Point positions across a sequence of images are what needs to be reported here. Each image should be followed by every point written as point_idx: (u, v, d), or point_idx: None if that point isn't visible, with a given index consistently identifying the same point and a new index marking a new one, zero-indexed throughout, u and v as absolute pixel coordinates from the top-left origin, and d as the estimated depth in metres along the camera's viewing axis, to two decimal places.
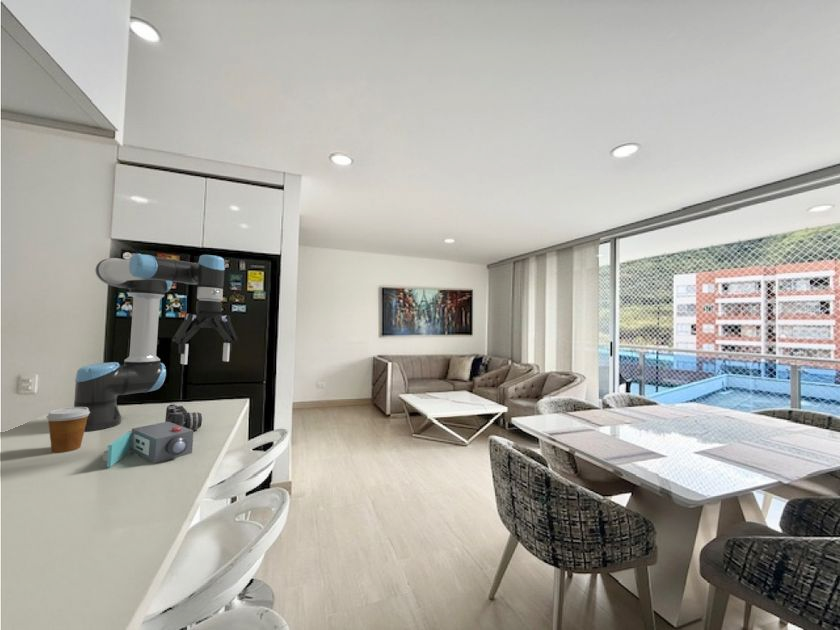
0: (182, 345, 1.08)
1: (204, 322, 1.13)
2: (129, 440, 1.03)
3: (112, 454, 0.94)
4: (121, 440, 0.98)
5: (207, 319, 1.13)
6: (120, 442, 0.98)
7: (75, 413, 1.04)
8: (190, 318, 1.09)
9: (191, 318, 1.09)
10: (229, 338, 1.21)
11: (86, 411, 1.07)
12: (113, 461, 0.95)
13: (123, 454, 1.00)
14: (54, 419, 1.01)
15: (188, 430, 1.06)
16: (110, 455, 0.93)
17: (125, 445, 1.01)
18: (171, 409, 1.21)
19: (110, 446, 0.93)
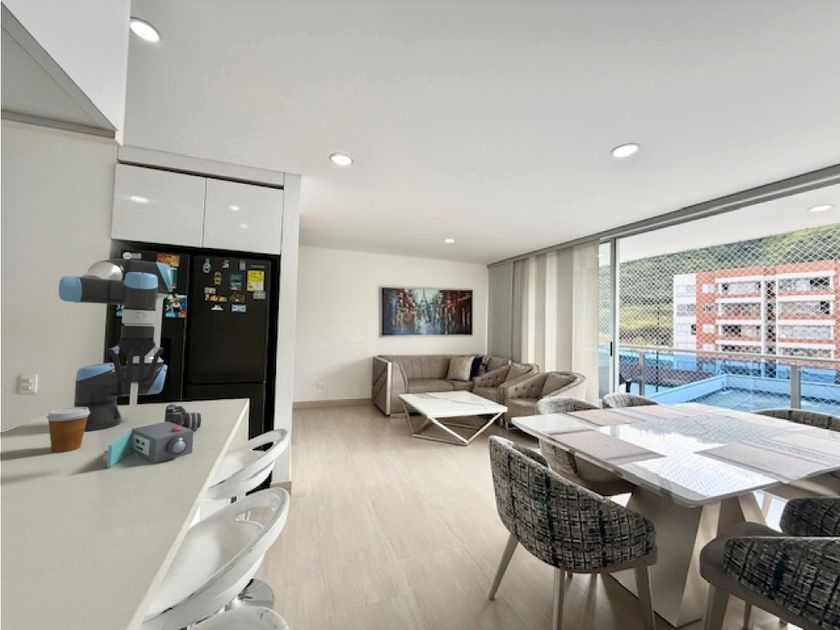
0: (127, 385, 0.97)
1: (131, 352, 0.97)
2: (129, 440, 1.03)
3: (112, 454, 0.94)
4: (121, 440, 0.98)
5: (131, 347, 0.97)
6: (120, 442, 0.98)
7: (75, 413, 1.04)
8: (112, 353, 0.95)
9: (113, 353, 0.95)
10: (141, 376, 0.99)
11: (86, 411, 1.07)
12: (113, 461, 0.95)
13: (123, 454, 1.00)
14: (54, 419, 1.01)
15: (188, 430, 1.06)
16: (110, 455, 0.93)
17: (125, 445, 1.01)
18: (170, 409, 1.21)
19: (110, 446, 0.93)
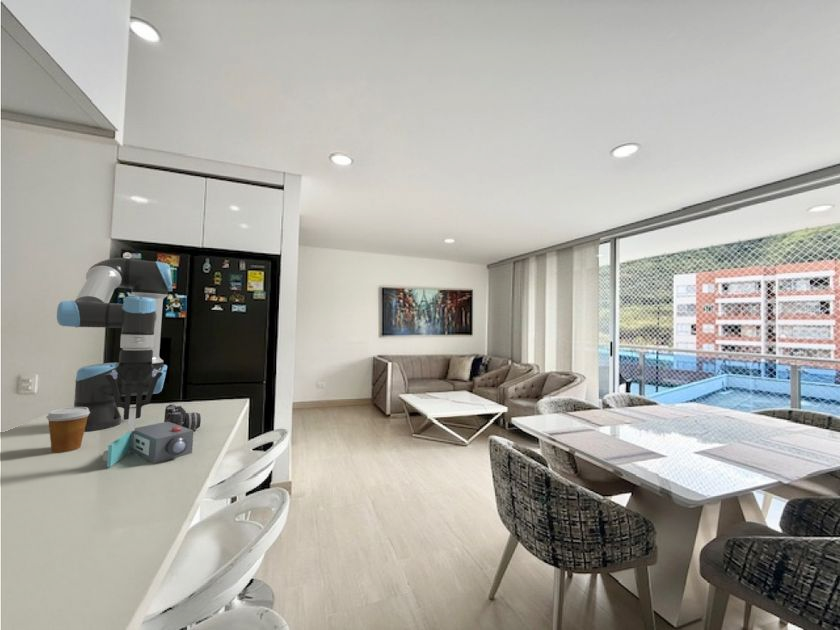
0: (126, 410, 0.97)
1: (129, 376, 0.97)
2: (129, 440, 1.03)
3: (112, 454, 0.94)
4: (121, 440, 0.98)
5: (129, 372, 0.96)
6: (120, 442, 0.98)
7: (75, 413, 1.04)
8: (111, 379, 0.94)
9: (112, 378, 0.94)
10: (139, 401, 0.98)
11: (86, 411, 1.07)
12: (113, 461, 0.95)
13: (123, 454, 1.00)
14: (54, 419, 1.01)
15: (188, 430, 1.06)
16: (110, 455, 0.93)
17: (125, 445, 1.01)
18: (170, 409, 1.21)
19: (110, 446, 0.93)
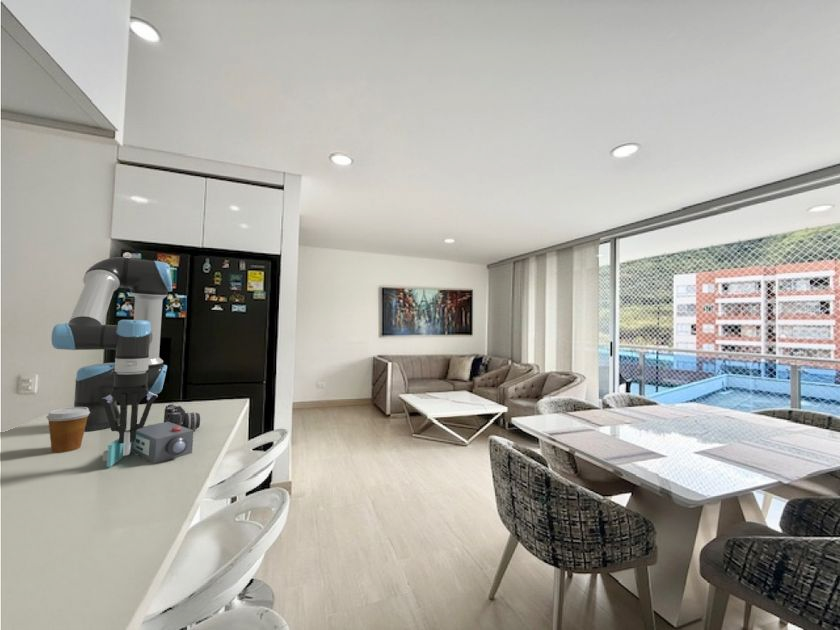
0: (121, 433, 0.97)
1: (123, 400, 0.96)
2: None
3: (112, 454, 0.94)
4: None
5: (123, 396, 0.96)
6: None
7: (75, 413, 1.04)
8: (105, 403, 0.94)
9: (106, 402, 0.94)
10: (133, 424, 0.98)
11: (86, 411, 1.07)
12: (113, 461, 0.95)
13: None
14: (54, 419, 1.01)
15: (188, 430, 1.06)
16: (110, 455, 0.93)
17: None
18: (169, 409, 1.21)
19: (110, 446, 0.93)
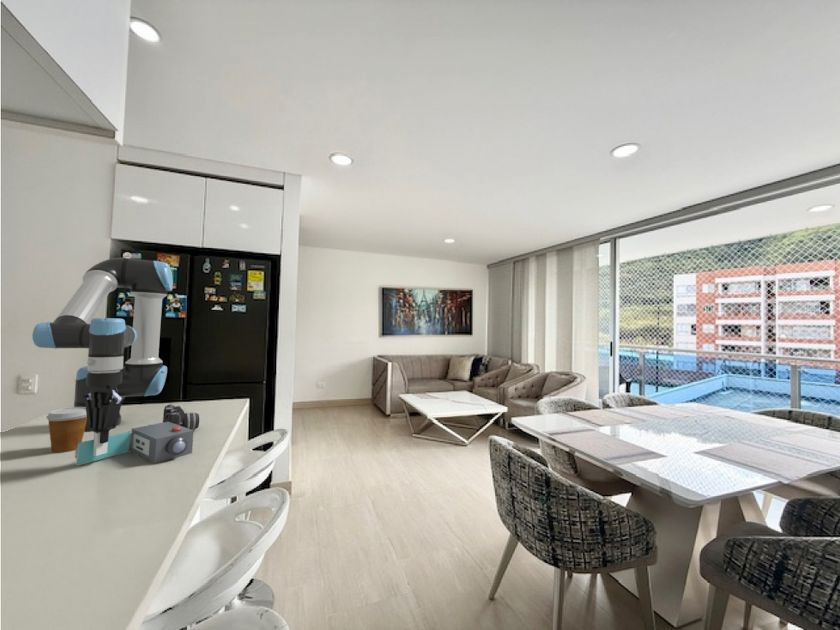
0: (95, 432, 0.96)
1: (93, 399, 0.95)
2: (125, 440, 1.03)
3: (81, 453, 0.94)
4: None
5: (92, 394, 0.95)
6: None
7: (75, 413, 1.04)
8: (85, 399, 0.97)
9: (86, 399, 0.97)
10: (100, 425, 0.95)
11: None
12: (85, 460, 0.94)
13: (111, 454, 1.00)
14: (54, 419, 1.01)
15: (188, 430, 1.06)
16: (78, 453, 0.93)
17: (115, 444, 1.01)
18: (168, 409, 1.21)
19: (78, 445, 0.93)
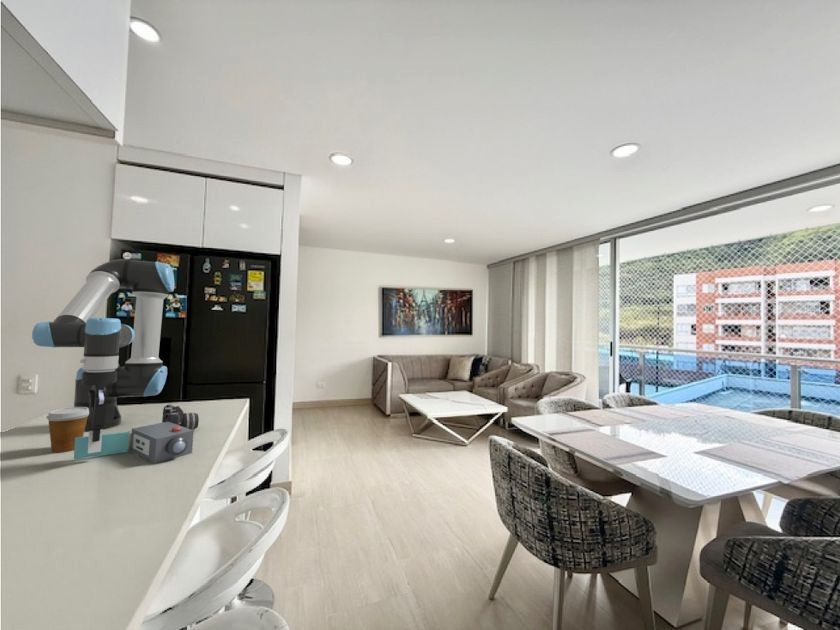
0: None
1: (89, 397, 0.98)
2: (124, 440, 1.03)
3: (77, 447, 0.97)
4: None
5: (88, 392, 0.98)
6: None
7: (75, 413, 1.04)
8: None
9: None
10: (91, 424, 0.96)
11: (86, 411, 1.07)
12: (81, 455, 0.98)
13: (108, 452, 1.01)
14: (54, 419, 1.01)
15: (188, 430, 1.06)
16: None
17: (112, 443, 1.02)
18: (167, 409, 1.21)
19: (75, 439, 0.97)
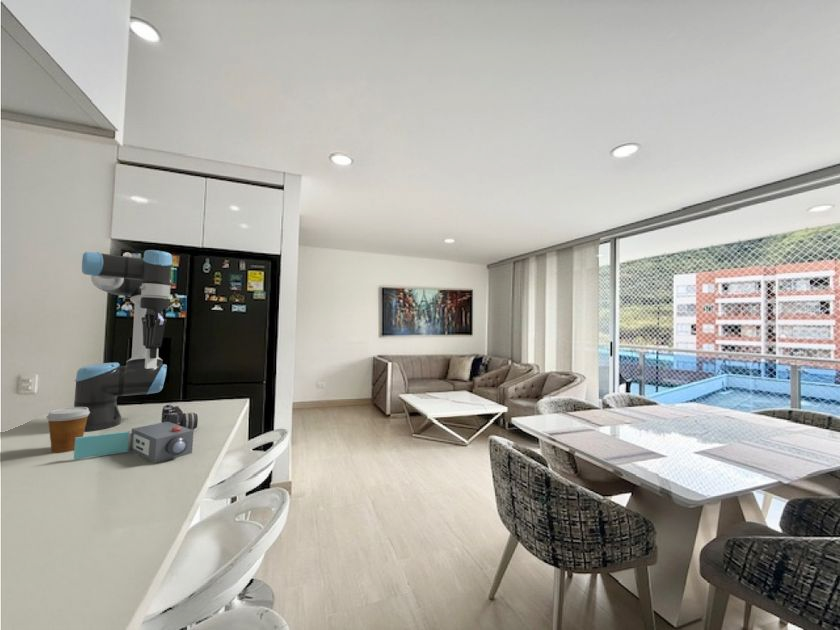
0: None
1: (146, 320, 1.11)
2: (124, 440, 1.03)
3: (77, 447, 0.97)
4: (101, 437, 1.00)
5: (145, 316, 1.11)
6: (98, 438, 1.00)
7: (75, 413, 1.03)
8: (142, 321, 1.14)
9: (143, 320, 1.14)
10: (149, 343, 1.10)
11: (86, 411, 1.07)
12: (81, 455, 0.98)
13: (108, 452, 1.01)
14: (54, 419, 1.01)
15: (188, 430, 1.06)
16: None
17: (112, 443, 1.02)
18: (166, 409, 1.20)
19: (75, 439, 0.97)
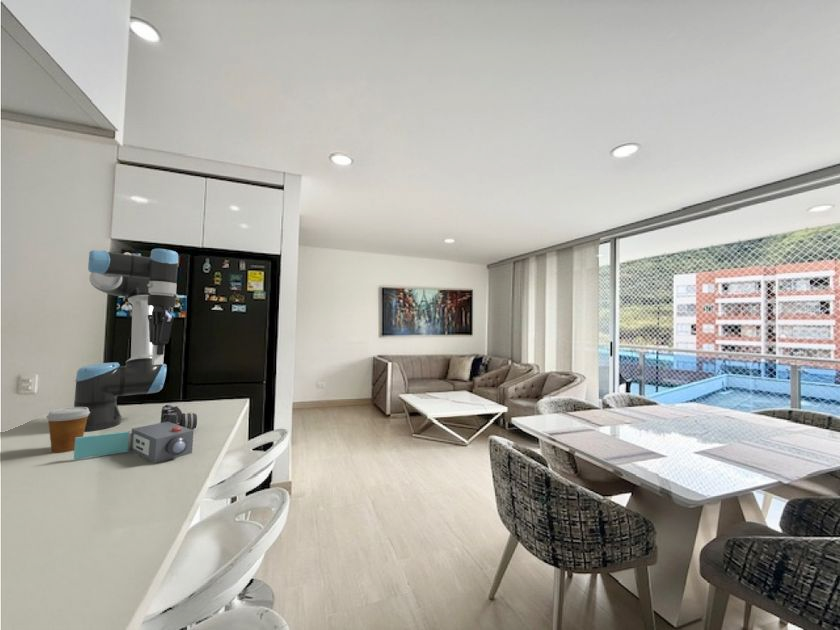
0: None
1: (152, 317, 1.13)
2: (124, 440, 1.03)
3: (77, 447, 0.97)
4: (101, 437, 1.00)
5: (152, 313, 1.13)
6: (98, 438, 1.00)
7: (75, 413, 1.04)
8: (149, 318, 1.16)
9: (149, 318, 1.16)
10: (157, 339, 1.12)
11: (86, 411, 1.07)
12: (81, 455, 0.98)
13: (108, 452, 1.01)
14: (54, 419, 1.01)
15: (188, 430, 1.06)
16: None
17: (112, 443, 1.02)
18: (166, 410, 1.20)
19: (75, 439, 0.97)
